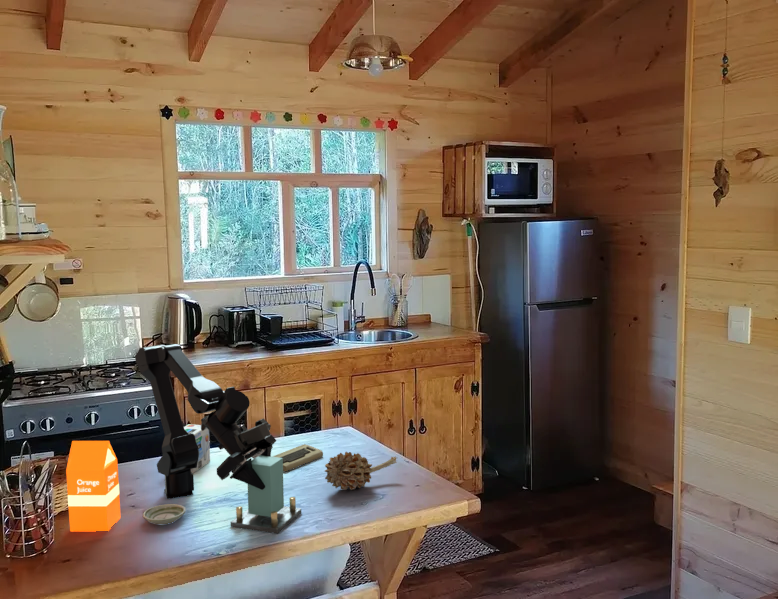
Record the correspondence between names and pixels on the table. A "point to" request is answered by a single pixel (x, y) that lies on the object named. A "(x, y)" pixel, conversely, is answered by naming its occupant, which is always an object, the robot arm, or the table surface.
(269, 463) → the teal block
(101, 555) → the table surface
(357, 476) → the pine cone
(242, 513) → the plate
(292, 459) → the computer
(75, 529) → the orange juice
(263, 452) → the robot arm
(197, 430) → the light bulb box
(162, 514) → the saucer
